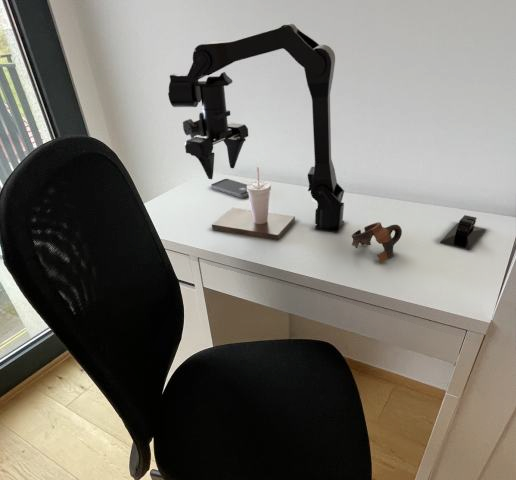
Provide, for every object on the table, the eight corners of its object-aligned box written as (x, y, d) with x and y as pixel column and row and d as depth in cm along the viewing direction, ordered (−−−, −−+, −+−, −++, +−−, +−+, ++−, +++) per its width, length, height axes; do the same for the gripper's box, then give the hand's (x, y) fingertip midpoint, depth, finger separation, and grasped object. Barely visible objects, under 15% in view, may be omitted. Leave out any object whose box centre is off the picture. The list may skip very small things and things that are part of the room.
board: (295, 221, 113) (295, 216, 112) (278, 240, 106) (277, 235, 105) (232, 212, 121) (232, 207, 120) (212, 229, 113) (211, 224, 112)
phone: (209, 187, 136) (242, 198, 128) (209, 184, 136) (242, 195, 127) (226, 181, 140) (259, 191, 131) (226, 178, 140) (259, 188, 131)
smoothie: (272, 215, 114) (270, 163, 104) (272, 225, 109) (270, 172, 100) (249, 216, 114) (245, 164, 105) (248, 226, 109) (244, 173, 100)
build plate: (469, 250, 96) (474, 232, 93) (438, 243, 100) (442, 225, 97) (485, 230, 103) (491, 212, 100) (456, 223, 107) (461, 206, 103)
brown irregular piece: (372, 270, 93) (358, 237, 90) (353, 268, 102) (341, 238, 99) (415, 245, 94) (403, 212, 91) (393, 245, 103) (382, 215, 100)
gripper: (213, 97, 107) (220, 159, 117) (163, 112, 96) (175, 179, 106) (247, 100, 102) (251, 164, 112) (197, 117, 91) (207, 187, 101)
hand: (221, 173), depth 108 cm, fingers open, 9 cm apart
